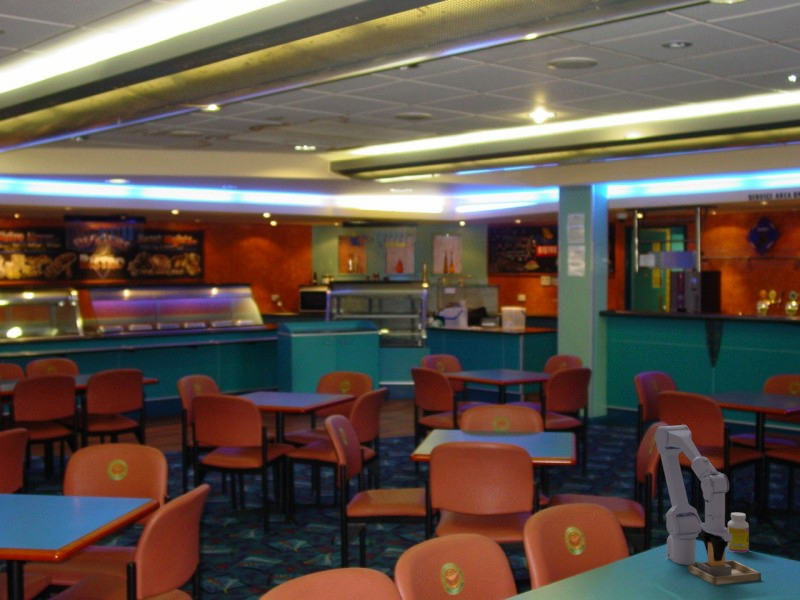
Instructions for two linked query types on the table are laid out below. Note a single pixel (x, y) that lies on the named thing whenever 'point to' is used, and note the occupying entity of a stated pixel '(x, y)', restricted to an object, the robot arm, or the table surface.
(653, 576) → the table surface
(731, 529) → the supplement bottle
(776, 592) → the table surface
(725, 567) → the inlet socket
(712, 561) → the plug
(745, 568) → the walled box
